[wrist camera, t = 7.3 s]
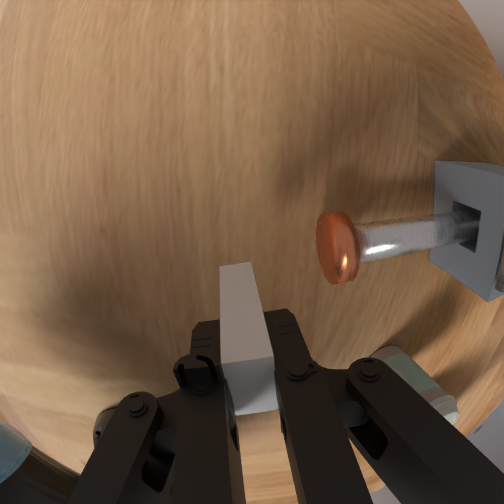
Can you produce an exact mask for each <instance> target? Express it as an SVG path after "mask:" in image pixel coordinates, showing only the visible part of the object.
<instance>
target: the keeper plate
mask: <svg viewBox="0 0 504 504" xmlns="http://www.w3.org/2000/svg"><path fill="white" fill-rule="evenodd" d="M495 289H496V290H497V291H499V292H503V293H504V249H503V254H502V259H501V263H500V268H499V272H498V276H497V280H496V284H495Z"/></svg>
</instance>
